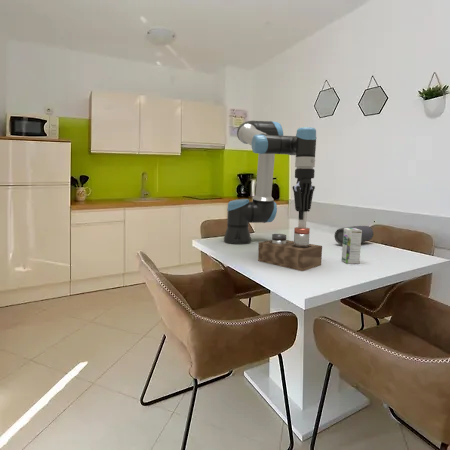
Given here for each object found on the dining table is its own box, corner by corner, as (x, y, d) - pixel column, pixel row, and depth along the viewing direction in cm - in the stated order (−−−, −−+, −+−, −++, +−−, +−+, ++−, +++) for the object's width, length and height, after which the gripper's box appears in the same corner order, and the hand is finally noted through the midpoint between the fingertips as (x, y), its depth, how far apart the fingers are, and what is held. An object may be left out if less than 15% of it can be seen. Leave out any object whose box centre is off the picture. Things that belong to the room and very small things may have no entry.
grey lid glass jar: (268, 257, 148) (269, 234, 147) (276, 255, 153) (277, 233, 151) (280, 260, 144) (280, 236, 143) (288, 257, 149) (289, 235, 147)
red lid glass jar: (290, 252, 140) (291, 228, 139) (298, 250, 145) (299, 226, 143) (303, 254, 136) (304, 229, 135) (311, 252, 140) (312, 228, 139)
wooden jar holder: (258, 260, 148) (258, 242, 146) (277, 255, 157) (278, 238, 156) (302, 271, 132) (303, 250, 131) (321, 264, 142) (322, 245, 141)
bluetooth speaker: (359, 241, 199) (360, 224, 198) (373, 243, 191) (375, 226, 190) (332, 244, 187) (333, 226, 185) (347, 247, 179) (348, 228, 178)
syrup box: (340, 260, 150) (343, 227, 148) (354, 260, 151) (356, 227, 149) (346, 263, 145) (348, 229, 143) (360, 263, 145) (362, 229, 143)
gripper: (304, 167, 128) (301, 230, 132) (321, 168, 138) (318, 227, 141) (287, 167, 134) (285, 228, 137) (305, 168, 143) (302, 225, 146)
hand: (302, 227), depth 139 cm, fingers closed
